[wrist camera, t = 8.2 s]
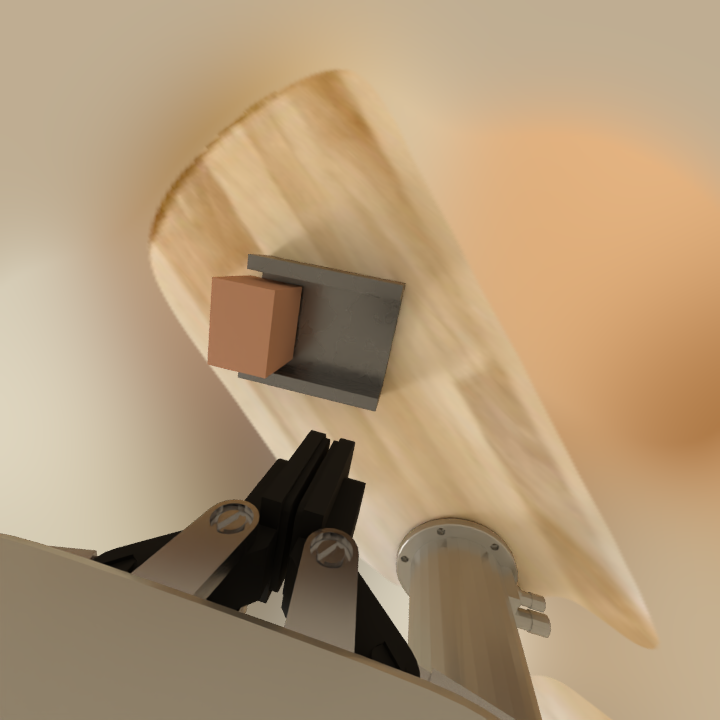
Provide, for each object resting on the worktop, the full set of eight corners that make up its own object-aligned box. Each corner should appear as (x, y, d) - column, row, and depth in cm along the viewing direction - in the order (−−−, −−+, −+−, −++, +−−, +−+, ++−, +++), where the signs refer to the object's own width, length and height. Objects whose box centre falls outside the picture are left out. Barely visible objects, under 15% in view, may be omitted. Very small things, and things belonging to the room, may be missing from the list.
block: (302, 286, 30) (274, 290, 24) (292, 359, 32) (265, 378, 26) (250, 275, 31) (212, 277, 25) (244, 347, 33) (207, 364, 27)
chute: (405, 283, 30) (403, 285, 26) (380, 395, 33) (375, 411, 29) (269, 255, 31) (248, 253, 27) (258, 365, 34) (237, 377, 31)
